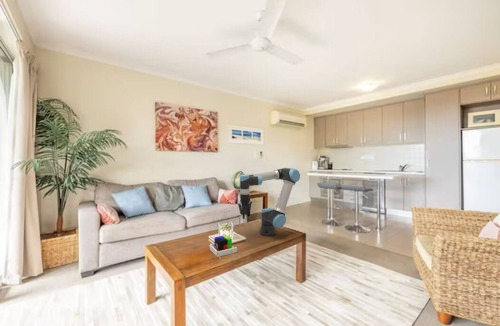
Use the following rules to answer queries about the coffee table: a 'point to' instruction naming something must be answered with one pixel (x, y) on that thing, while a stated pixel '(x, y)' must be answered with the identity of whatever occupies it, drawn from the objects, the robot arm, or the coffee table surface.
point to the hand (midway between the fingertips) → (245, 222)
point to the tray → (223, 252)
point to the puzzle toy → (222, 243)
